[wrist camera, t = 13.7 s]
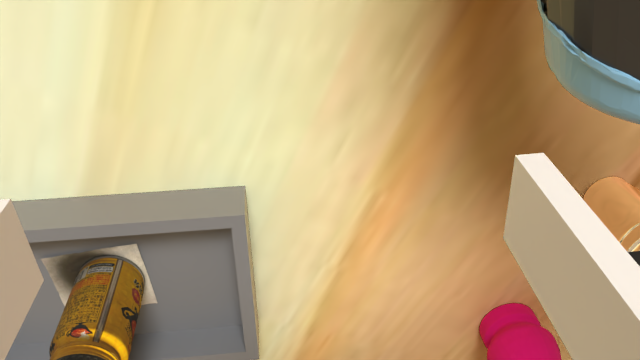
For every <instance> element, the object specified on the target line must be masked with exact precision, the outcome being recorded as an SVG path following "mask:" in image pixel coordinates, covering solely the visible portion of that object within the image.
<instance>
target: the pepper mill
mask: <svg viewBox="0 0 640 360" xmlns="http://www.w3.org/2000/svg"><path fill="white" fill-rule="evenodd" d="M479 331H480V335H481V338H482V340H483V342H484V344H485V346H486V348H487V349H488V352H487V360H561V355H560V350H559V347H558V345H557V343H556V340H555V338H554V337H553V335H552V334H551V333H550V332H549V331H548V330H546V329H545V328H543V327H541V325H540V323H539V321H538V319H537V317H536V316H535V314H534V312H533V311H532V309H530V308H529V307H528V306H526V305H523V304H518V303H510V304H505V305H501V306H499V307H497V308H495V309H493V310H491V311H490V312H489V313H488V314H486V315H485V317H484V318H483V320H482V321H481V324H480V328H479Z"/></svg>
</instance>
